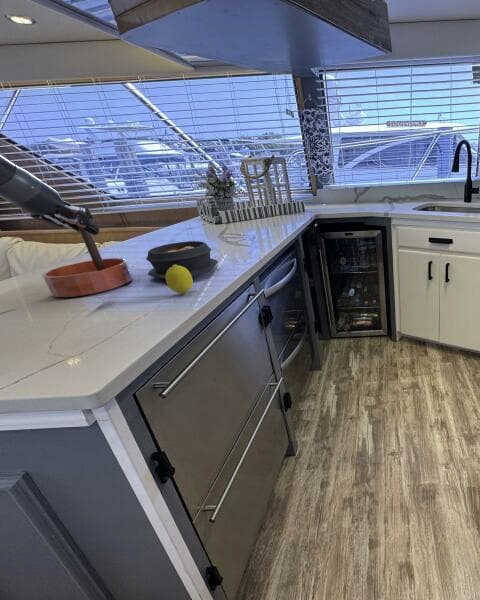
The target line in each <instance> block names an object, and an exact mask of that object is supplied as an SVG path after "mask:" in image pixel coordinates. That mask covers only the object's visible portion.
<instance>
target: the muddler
mask: <svg viewBox="0 0 480 600" xmlns="http://www.w3.org/2000/svg"><path fill="white" fill-rule="evenodd" d="M78 221H79V222H81V219H79V220H78ZM77 227H78V229H79V231H80V233H79V234H80V236H81V238H82V240H83V243H84V245H85V247H86V249H87V252H88V254H89V256H90V258H91V260H92V261H93V263H94V265H95V267H96V270H97V271H99V270H103V269H106V267H105V265H104V263H103V260H102V259H103V258H102V256H101V254H100V251H99V249H98V247H97V245H96V242H95V239H94V237H93V234H91V233H90V232H88V231H86V230H85V229H83V228H82V227H80V226H78V225H77Z"/></svg>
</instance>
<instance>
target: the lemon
mask: <svg viewBox="0 0 480 600" xmlns="http://www.w3.org/2000/svg"><path fill="white" fill-rule="evenodd" d="M165 282H166V285H167V286H168V288H169V289H170V290H171V291H172V292H174V293H177V294H181V295H186V294H187V292H189V291H191V289H192V288H193V285H194V280H193V277H192V276H191V274H190V272H189V271H188V270H187V269H186V268H184V267H182V266H177V265H173V266H172V267H171V268H169V269H168V270H167V272H166V279H165Z"/></svg>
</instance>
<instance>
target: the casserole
mask: <svg viewBox="0 0 480 600" xmlns="http://www.w3.org/2000/svg"><path fill="white" fill-rule="evenodd" d="M211 251H212V247H209V245H208V244H207V242H205V241H197V240H191V241H181V242H179V241H178V242H172V243H168V244H163V245H159V246H156V247H153V248H150V249H149V250H148V251H147V256H146V258H145V260H146V261H147V262H149V263H150V265H151V266H152V268H151V269H150V270H149V271H148V273H147V276H150V277H152V278H161V279H164V280H166V272H167V270H168V269H169V268H171V267H172V266H173V265H177V266H182V267H184V268H186V269H187V270H188V271H189V272H190V274H191V276H192V278H193V277H197V276H201V275H203V274H207V273H209V272H211V271H213V269H214V267H215V266H217V265H218V263H219V261H218V260H217V259H215V258H211Z"/></svg>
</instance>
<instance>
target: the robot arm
mask: <svg viewBox="0 0 480 600" xmlns="http://www.w3.org/2000/svg"><path fill="white" fill-rule="evenodd" d="M0 198H1V199H3V200H5V201H7V202H9V203H10V204H12V205H14V206H16V207H17V208H19V209H21V210H23V211H24V212H26V213H28V214H30V215H29V217H30V218H31V219H34V220H38V221H41V222H43V223H47V224H48V225H52V226H55V227H57V228H64V227H65V228H67V229H72V230H74V231H75V232H77V233H79V234H80V231H79V229H78V227H77V225H78V226H80V227H82V228H83V229H85V230H86V231H88V232H90V233H91V235H92V236H98V235H99V232H100V227H98V226H96V225H95V224H93V223H92V222H93V219H94V217H93V214H92V213H91V211H90V209H89V208H88V206H86V205H85V204H80V206H75V205H73V204H72V203H70V202H68V201H65V200H63V199H62V197H61V196H60V194H59V191H57V190H56V189H54V188H53V187H51V186H50V185H48V184H47V183H46V182H44V181H43V180H41V179H39V178H38V177H37V176H35V175H34V174H32V173H31V172H30V171H27V170H26V169H24V168H22V167H20V166H19V165H17V164H16V163H14V162H12V161H11V160H9V159H8V158H7V157H4V156H3V155H2V154H0ZM79 219H81V222H79V221H78V220H79Z"/></svg>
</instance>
